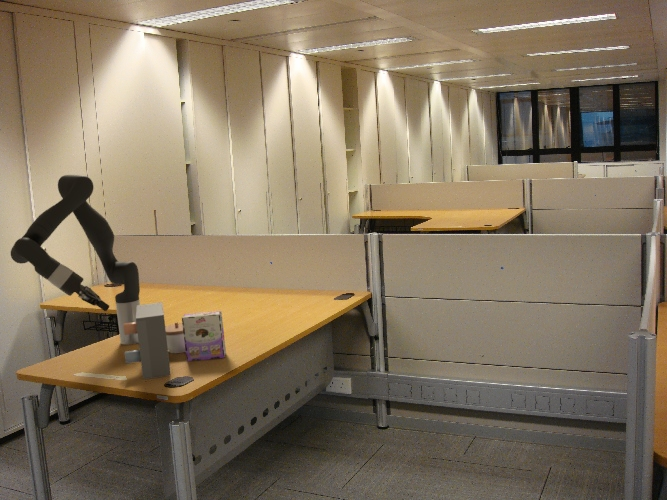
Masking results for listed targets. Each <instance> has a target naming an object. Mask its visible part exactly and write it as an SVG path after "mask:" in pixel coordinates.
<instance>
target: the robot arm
mask: <svg viewBox="0 0 667 500" xmlns="http://www.w3.org/2000/svg"><path fill="white" fill-rule="evenodd" d="M57 189H58V193H59V195H60V197H61V199H60V200H59V201H58V202H57V203H55V204H54V205H52V206H50V207H48V208H47V209H46V210H44V211H43V212H42V213H40V214H39V215H38V216H37V217H36V219H35V220H34V221H33V222H32V223H31V224H30V226H29V227H28V229H27V230H26V232H25V234H23V236H22V237H21V238H18V239H17V240H16V241H15V242H14V244H13V246H12V247H11V249H10V257H11V259H12V260H13V261H14V262H15V263H17V264H22V265H23V264H26V263H30V264H31V265H32V266H33V267H34V271H35V272H36V273H37V274H38V275H39V276H41V277H43V279H45V280H47V281H48V282H49V283H50V284H51V285H52V286H54V287H55V288H57V289H58V290H60V291H62V292H63V293H64V294H66V295H67V296H68V297H69V296H70V297H71V296H72V295H73V294H74V293H76V294H77V295H78V296H77V297H78V298H79V299H81V301H84V302H85V303H87V304H90V305H92V306H94V307H95V306H96V307H98V308H99V309H100V310H102V311H104V312H107V311H108V310H109V309H110V305H109V304H108V303H107V302H105V301H104V300H102V298H101V297H100V295H98V294H97V293H96V292H95V291H94V290H93V289H92V288H91V287H89V286H88V285H83V284H82V283H83V282H84V277H82V276H81V275H79V274H78V273H76V272H75V271H74V270H72V269H71V268H69V267H68V266H66V265H65V264H62V263H61V262H60V261H58V260H56V259H55V258H54V257H52V256H50V255H49V253H48V252H47V251H46V250H45V249H44V248H43V247H42V245H43V244H44V243H45V242H46V241H47V240H48V239H49V238H50V237H51V236H52V234H53V233H54V232H55V231H56V230H57V228H58V227H59V226H60V225H61V224H62V223H63V221H65V220H66V219H67V218H68V217H69V216H70V215H71V214H72V213H73V215H74V216H75V218H76V220H77V222H78V223H79V224H80V225H79V226H81V229H82V230H83V231H84V233H85V236H86V238H87V239H88V241H89V242H90V244H91V245H92V248H93V249H94V251H95V253H96V254H97V257H98V258H99V260H100V263H101V265H102V267H103V270H104V271H105V274H106V276H107V278H108V281H110V283H112V284H113V285H122V286H123V287H124V288H123V291H121V292H119V293H117V294H116V295H115V296H114V299H115V306H116V309H115V310H116V316H117V324H118V331H119V339H120V344H121V345H125V346H126V345H136V344H139V341H138V333H136V334H129V335H125V333H124V324H126V323H133V322H136V310H137V305H141V303H140V292H141V291H140V290H141V289H140V277H139V276H140V275H139V268H138V266H137V264H136V263H135V262H134V261H118V259H117V258H116V255H114V243H115V234H114V232H113V230H112V227H111V225H110V224H109V222H108V221H107V219H106V218H105V217H104V216H103V215H102V214H101V213H100V212H99V211H98V210H96V209H95V208H94V207H92V206H91V204H89V202H88V201H87V200H88V199H89V198H90V197H91V196H92V194H93V192H94V182H93V180H92V179H91V178H90V177H89V176H87V175H84V174H83V175H82V174H65V175H62V176H60V178H59V179H58V181H57Z"/></svg>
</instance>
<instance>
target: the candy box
mask: <svg viewBox="0 0 667 500" xmlns="http://www.w3.org/2000/svg"><path fill="white" fill-rule="evenodd" d="M181 323H182V324H183V333H184V341H185V349H186V352H185V357H186V362H195V361H201V360H202V361H203V360H204V361H206V360H214V359H224V358H225V357H226V355H227V350H226V340H225V331H224V322H223V313H222V310H220V311H219V310H217V311H209V312H208V311H207V312H196V313H185V314H184V315H183V316H182V317H181Z"/></svg>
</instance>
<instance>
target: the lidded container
mask: <svg viewBox="0 0 667 500" xmlns="http://www.w3.org/2000/svg"><path fill="white" fill-rule="evenodd" d="M165 329H166V338H167V347H168V352H169V353H171V354H181V353H186V349H185V341H184V333H183V324H182V322H181V323H180V322H177V321H175V322H174V323H172V324H168V325H165Z"/></svg>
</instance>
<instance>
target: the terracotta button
mask: <svg viewBox="0 0 667 500" xmlns="http://www.w3.org/2000/svg"><path fill="white" fill-rule="evenodd" d="M124 333H125V335H129V334H136V333H137V325H136V322H133V323H126V324H124Z"/></svg>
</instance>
